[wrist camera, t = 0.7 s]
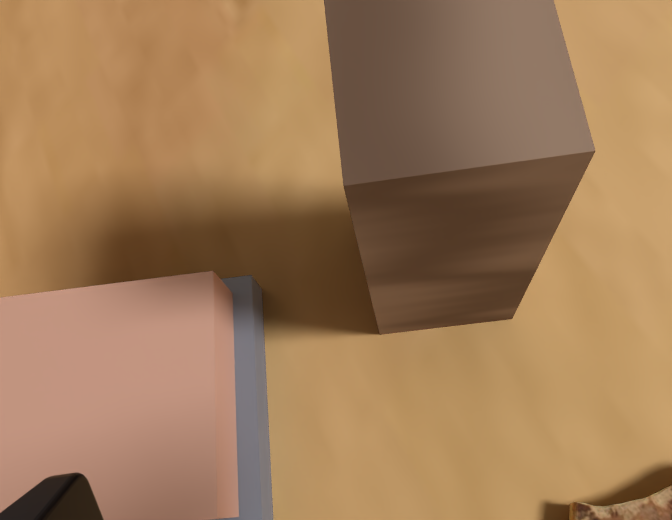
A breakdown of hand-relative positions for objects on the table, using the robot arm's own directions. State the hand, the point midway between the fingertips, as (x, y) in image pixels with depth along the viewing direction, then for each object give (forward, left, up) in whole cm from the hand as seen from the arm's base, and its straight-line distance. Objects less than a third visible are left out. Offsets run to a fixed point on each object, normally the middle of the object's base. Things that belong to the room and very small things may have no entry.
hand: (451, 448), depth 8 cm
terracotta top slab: (+8, +5, -12) cm, 15 cm away
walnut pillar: (+5, -5, -13) cm, 15 cm away
